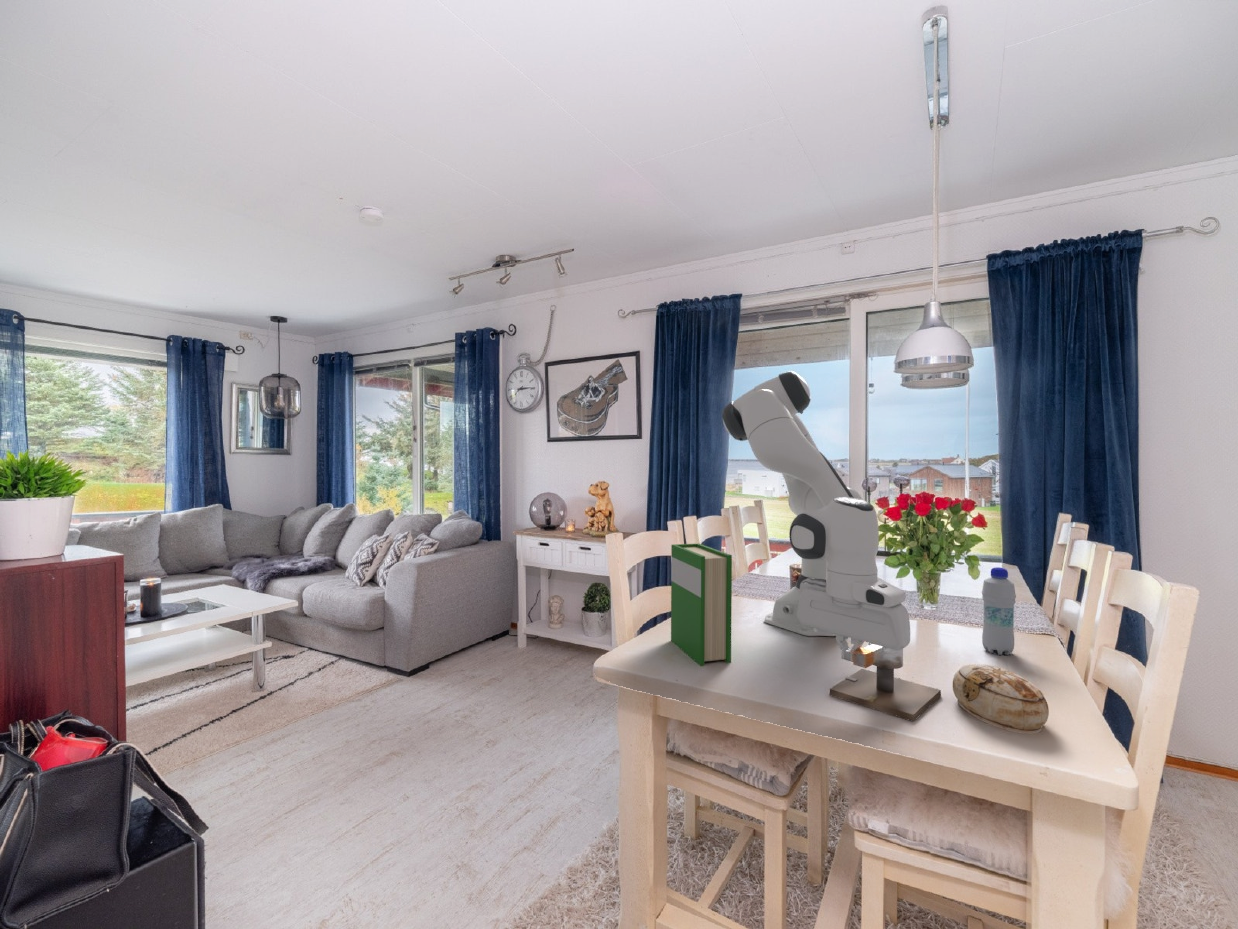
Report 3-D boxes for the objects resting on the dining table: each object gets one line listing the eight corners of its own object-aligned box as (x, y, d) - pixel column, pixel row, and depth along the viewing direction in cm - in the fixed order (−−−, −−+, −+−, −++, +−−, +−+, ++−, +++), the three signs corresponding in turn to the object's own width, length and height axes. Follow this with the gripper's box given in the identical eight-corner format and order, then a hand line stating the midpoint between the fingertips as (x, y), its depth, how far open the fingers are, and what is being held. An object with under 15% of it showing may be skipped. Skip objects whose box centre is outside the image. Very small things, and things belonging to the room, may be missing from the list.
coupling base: (829, 695, 108) (829, 664, 107) (861, 674, 118) (862, 646, 118) (913, 721, 97) (913, 687, 97) (940, 696, 107) (940, 665, 107)
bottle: (1011, 649, 134) (1012, 566, 134) (1018, 658, 128) (1019, 571, 128) (978, 645, 137) (979, 563, 136) (983, 654, 131) (984, 568, 130)
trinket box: (962, 691, 110) (962, 651, 110) (1058, 717, 99) (1058, 673, 99) (938, 712, 101) (939, 668, 101) (1041, 743, 90) (1041, 694, 90)
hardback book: (731, 662, 124) (731, 555, 124) (700, 666, 122) (701, 556, 122) (698, 638, 141) (698, 543, 141) (670, 640, 139) (671, 544, 139)
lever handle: (877, 655, 112) (877, 634, 111) (908, 663, 107) (908, 642, 107) (843, 670, 103) (843, 648, 103) (875, 680, 99) (875, 657, 99)
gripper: (791, 578, 109) (790, 648, 110) (900, 600, 94) (897, 681, 94) (808, 574, 114) (807, 641, 114) (915, 594, 98) (913, 672, 98)
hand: (849, 660), depth 104 cm, fingers closed
